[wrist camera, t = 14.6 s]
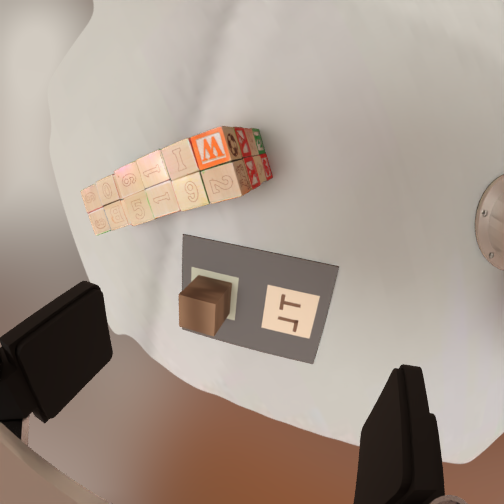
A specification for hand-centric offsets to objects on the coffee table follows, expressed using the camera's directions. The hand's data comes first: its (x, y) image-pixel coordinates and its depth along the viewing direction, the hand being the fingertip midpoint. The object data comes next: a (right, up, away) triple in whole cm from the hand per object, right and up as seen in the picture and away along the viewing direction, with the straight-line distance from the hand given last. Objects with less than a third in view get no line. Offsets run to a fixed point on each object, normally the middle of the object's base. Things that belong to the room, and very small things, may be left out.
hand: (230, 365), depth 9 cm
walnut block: (-5, -3, +36) cm, 37 cm away
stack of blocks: (-7, +13, +31) cm, 35 cm away
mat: (0, -4, +35) cm, 35 cm away
